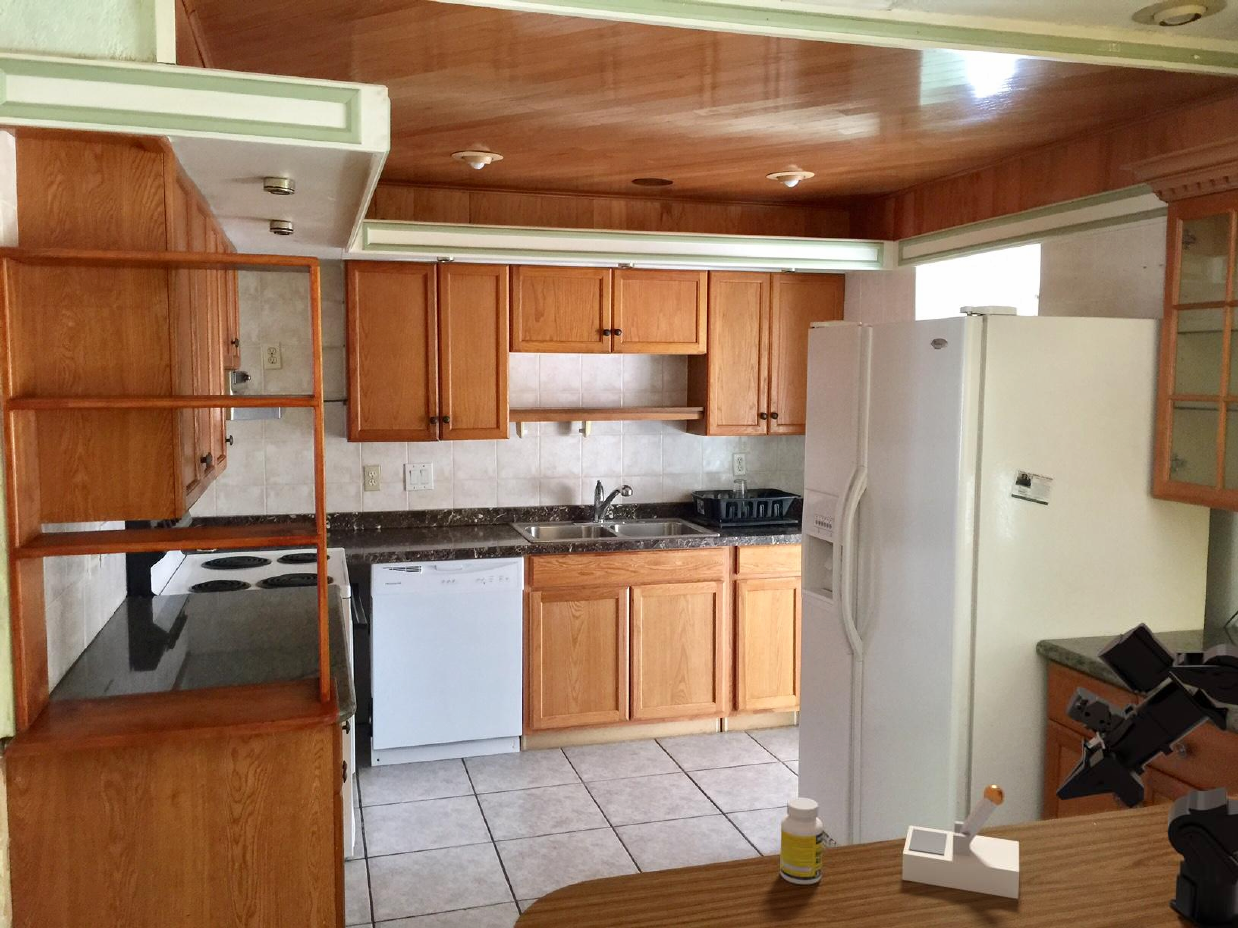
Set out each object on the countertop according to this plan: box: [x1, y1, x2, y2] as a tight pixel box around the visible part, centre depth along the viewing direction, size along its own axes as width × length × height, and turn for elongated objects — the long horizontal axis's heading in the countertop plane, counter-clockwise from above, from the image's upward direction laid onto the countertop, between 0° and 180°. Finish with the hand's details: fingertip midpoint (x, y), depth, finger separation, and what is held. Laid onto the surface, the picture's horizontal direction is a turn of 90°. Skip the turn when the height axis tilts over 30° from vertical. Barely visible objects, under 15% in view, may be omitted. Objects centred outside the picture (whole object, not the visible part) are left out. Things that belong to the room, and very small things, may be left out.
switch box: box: [902, 820, 1020, 900], centre depth 135 cm, size 14×9×6 cm, turn 69°
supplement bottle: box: [779, 797, 824, 885], centre depth 134 cm, size 5×5×10 cm
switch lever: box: [960, 784, 1006, 843], centre depth 134 cm, size 3×3×10 cm
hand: (1058, 796), depth 130 cm, fingers closed
